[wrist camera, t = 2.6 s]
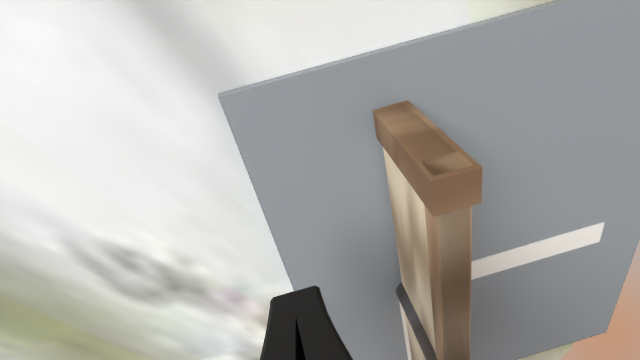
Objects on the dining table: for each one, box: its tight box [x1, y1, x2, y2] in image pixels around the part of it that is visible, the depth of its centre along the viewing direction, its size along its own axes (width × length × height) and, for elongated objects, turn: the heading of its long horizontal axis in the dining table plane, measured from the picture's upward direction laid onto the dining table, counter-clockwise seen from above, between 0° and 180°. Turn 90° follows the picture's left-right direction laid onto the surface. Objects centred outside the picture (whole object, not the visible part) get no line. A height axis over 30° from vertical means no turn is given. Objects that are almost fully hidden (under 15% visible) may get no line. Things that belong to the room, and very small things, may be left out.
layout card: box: [218, 0, 640, 360], centre depth 20 cm, size 24×20×1 cm
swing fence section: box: [372, 100, 482, 360], centre depth 14 cm, size 10×1×5 cm, turn 12°
